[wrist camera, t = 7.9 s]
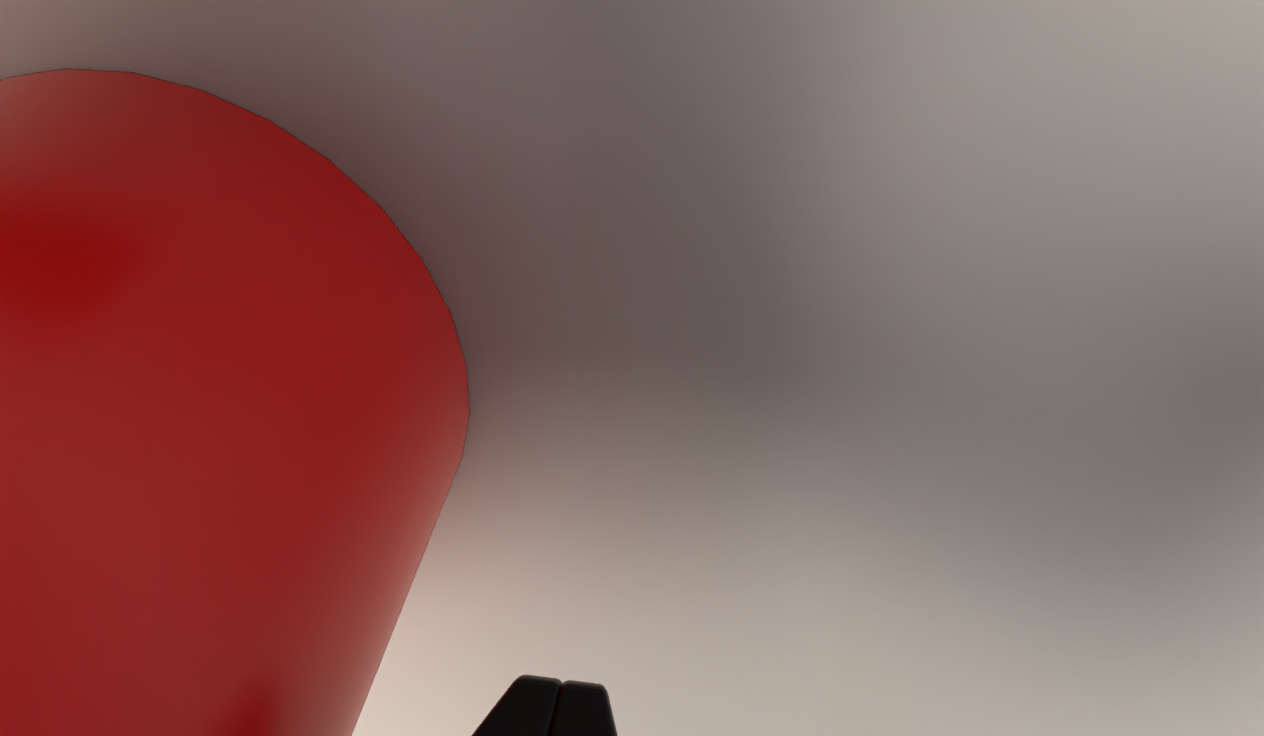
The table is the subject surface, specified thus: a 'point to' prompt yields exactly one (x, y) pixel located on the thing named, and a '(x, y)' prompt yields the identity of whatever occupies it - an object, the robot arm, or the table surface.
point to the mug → (204, 418)
